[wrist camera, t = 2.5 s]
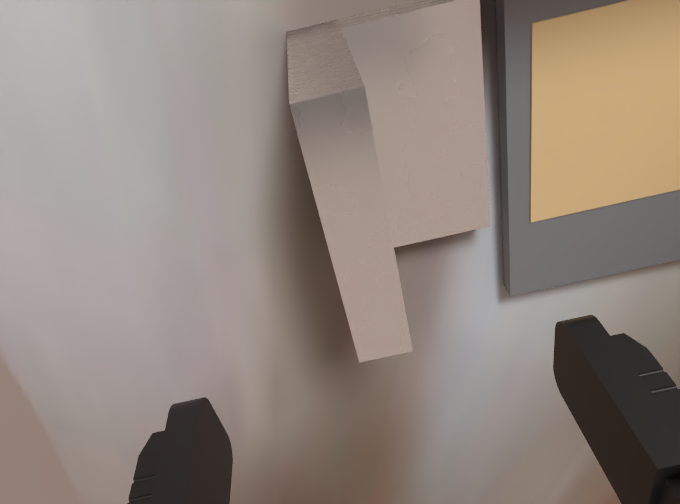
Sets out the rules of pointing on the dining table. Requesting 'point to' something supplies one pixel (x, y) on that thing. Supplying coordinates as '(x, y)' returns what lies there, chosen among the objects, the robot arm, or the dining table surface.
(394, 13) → the bracket
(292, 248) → the dining table surface
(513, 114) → the board
